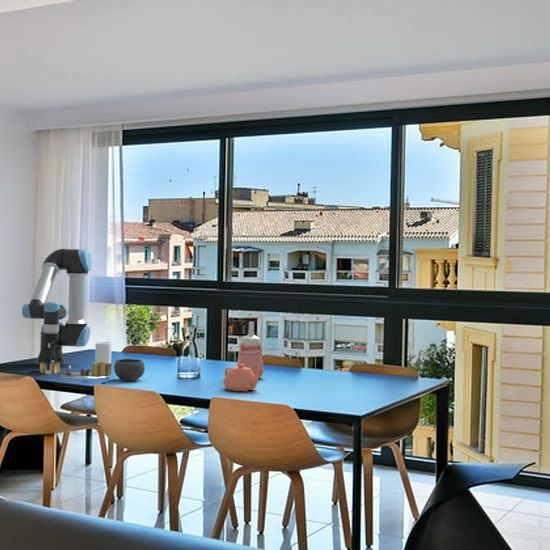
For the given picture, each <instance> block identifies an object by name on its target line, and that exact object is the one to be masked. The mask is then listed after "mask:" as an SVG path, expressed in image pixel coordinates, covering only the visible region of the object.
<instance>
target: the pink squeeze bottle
mask: <svg viewBox="0 0 550 550" xmlns="http://www.w3.org/2000/svg"><path fill="white" fill-rule="evenodd" d="M239 345H240V346H239V350H238V357H237V362H236V367H238V364H244V367H248V368H250V369H251V370H252V371H253V373H254V375H255V371H256V369H257V368H261V367H262V368H261V369H260V371H259V377H260V378H261V376H262V377H263V376H264V361H263V351H262V341H261V338H260V337H259V336H257V335H255V322H254V321H249V322H248V334H247V335H244V336H243V337H242V338H241V340H240V344H239Z"/></svg>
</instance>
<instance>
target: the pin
mask: <svg viewBox="0 0 550 550" xmlns="http://www.w3.org/2000/svg"><path fill="white" fill-rule="evenodd" d="M65 367H66V368H65V373H66V375H71V372H72V366H71V365H66V366H65Z"/></svg>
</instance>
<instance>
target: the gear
mask: <svg viewBox="0 0 550 550" xmlns="http://www.w3.org/2000/svg"><path fill="white" fill-rule="evenodd" d="M45 369H46V364H44V362H43V363H40V365H39V373H41V374H45ZM60 371H61V365H60V363H58V362H51V374H58V373H60Z"/></svg>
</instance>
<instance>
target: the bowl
mask: <svg viewBox="0 0 550 550" xmlns="http://www.w3.org/2000/svg"><path fill="white" fill-rule="evenodd" d="M113 369H114V374H115V375H116V376H117V377H118V378H119V379H120V380H123V381H125V382H126V381H127V382H132V381H133V382H134V381H136V380H139V379H140V378H141V377H143V375H144V373H145V371H146V370H145V369H146V368H145V363H144V361H143V360H142V359H140V358H139V359H138V358H121V359H116V361H115V362H114V367H113Z"/></svg>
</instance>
